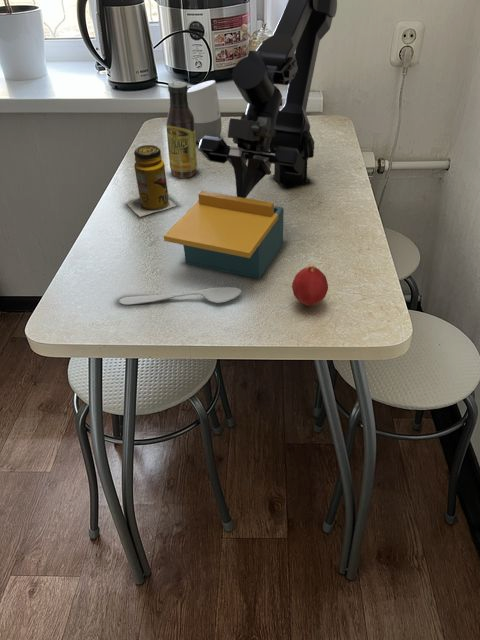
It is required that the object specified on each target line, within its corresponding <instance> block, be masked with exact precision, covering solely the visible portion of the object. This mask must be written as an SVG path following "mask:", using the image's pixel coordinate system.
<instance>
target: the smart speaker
mask: <svg viewBox="0 0 480 640" xmlns="http://www.w3.org/2000/svg"><path fill="white" fill-rule="evenodd" d="M187 102H188V107H189V109H190V110H191V112H192V114H193V117H194V128H195V140H196V143H197V144H198V143H200V140H201V139H202V138H203V137H204V136H211V137H218V138H220V136H221V133H222V129H223V128H222V114H221V109H220V102H219V96H218V89H217V83H216V80H215V79H212V80H207V81H203V82H200V83H197V84H195V85H192V86H190V87H188V91H187Z"/></svg>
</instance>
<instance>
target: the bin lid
mask: <svg viewBox="0 0 480 640" xmlns="http://www.w3.org/2000/svg"><path fill="white" fill-rule="evenodd" d="M197 194H198V195H197V196H198V197H197V198H198V200H197V201H196V202H195V203H194V204H193V205H192V206H191V207H190V209H188V210H187V211H186V213H184V214H183V215H182V217H180V218H179V219H178V221H176V223H174V224H173V226H171V228H170V229H169V230H167V232H166V233H165V234H164V235H163V241H164V242H166V243H167V242H168V243H171V244H176V245H181V246H184V245H187V246H192V247H197V248H202V249H207V250H212V251H216V252H221V253H226V254H231V255H236V256H241V257H246V258H250V257H251V256H252V254H253V253H254V251H255V250H256V249H257V247H258V246H259V245H260V243H261V242H262V241H263V239H264V238H265V236H266V235H267V234H268V232H269V231H270V230H271V228H272V227H273V225H274V224H275V223H276V221H277V220H278V214H276V213H274V206H275V203H274V202H272V201H271V202H270V201H265V200H259V199H253V198H249V197H248V198H247V197H246V198H242V197H237V195H236V196H235V195H230V194H223V193H218V192H211V191H208V190H207V191H206V190H200V192H199V193H197Z"/></svg>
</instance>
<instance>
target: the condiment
mask: <svg viewBox="0 0 480 640" xmlns="http://www.w3.org/2000/svg"><path fill="white" fill-rule="evenodd" d="M133 154H134V165H133V167H134V171H135V178H136V179H135V180H136V184H137V190H138V195H139V197H138V198H136V199H133V200H128V201H126V202H125V204H126V205H127V206H128V207H129V208H130V209H131V210H132V212H134V213H135V214H136V215H138V217H139V218H141V217H144V216H147V215H151V214H153V213H158V212H161V211H165V210H168V209H171V208H174V207H176V206H177V205H176V203H174V202H173V201H172V200H171V199H170V198H169V190H168V183H167V176H166V175H167V174H166V167H165V162H164V160H163V157H162V152H161V149H160V147H159V146H158V145H153V144H144V145H141V146H138V147H136V149H134V152H133Z"/></svg>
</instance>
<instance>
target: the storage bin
mask: <svg viewBox="0 0 480 640" xmlns="http://www.w3.org/2000/svg"><path fill="white" fill-rule="evenodd" d="M284 211H285V210H284V207H281V206H275V205H274V213H276V214H278V220H277V221H276V223H275V224H274V225H273V227H272V228H271V230H270V231H269V232H268V234H267V235H266V236H265V238H264V239H263V241H262V242H261V243H260V245H259V246H258V247H257V249H256V250H255V251H254V253H253V254H252V256H251V257H250V258H246V257H241V256H236V255H231V254H226V253H221V252H216V251H212V250H207V249H202V248H197V247H192V246H187V245H183V253H184V262H185V264H186V265H193V266H196V267H201V268H206V269H210V270H216V271H219V272H225V273H229V274H235V275H239V276H244V277H249V278H253V279H257V280H259V279H261V277H262V276H263V275H264V273H265V271H266V270H267V268H268V267H269V265H270V264H271V262H272V261H273V259H274V258H275V256H276V255H277V253H278V252H279V250H280V249H281V247H282V246H283V244H284Z"/></svg>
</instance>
